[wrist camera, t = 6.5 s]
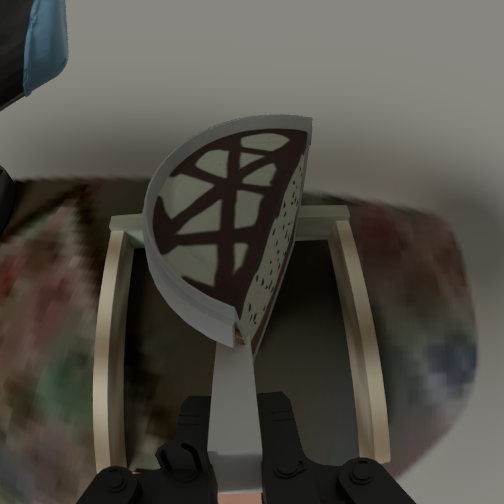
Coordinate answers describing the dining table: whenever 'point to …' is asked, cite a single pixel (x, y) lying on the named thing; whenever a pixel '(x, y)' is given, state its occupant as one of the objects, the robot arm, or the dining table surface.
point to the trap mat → (237, 498)
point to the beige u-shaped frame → (353, 309)
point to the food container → (227, 223)
